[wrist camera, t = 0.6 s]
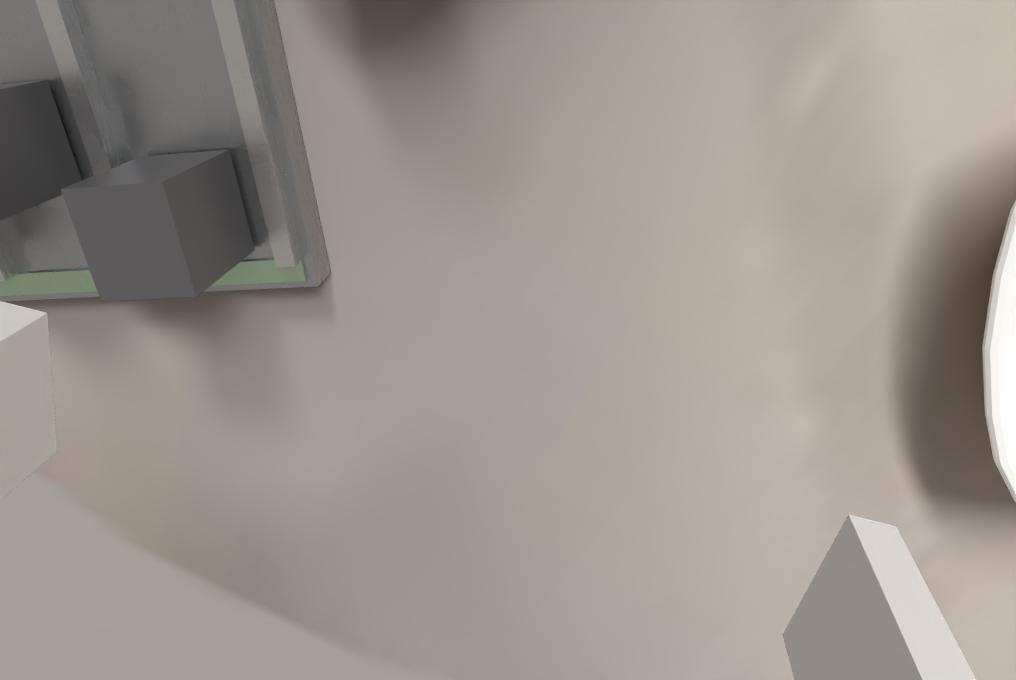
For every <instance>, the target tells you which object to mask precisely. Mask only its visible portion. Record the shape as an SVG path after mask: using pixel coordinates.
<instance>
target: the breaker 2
mask: <svg viewBox="0 0 1016 680" xmlns="http://www.w3.org/2000/svg"><path fill="white" fill-rule="evenodd" d="M61 192H62V194H63V197H64V200H65V203H66V206H67V208H68V211H69V214H70V217H71V219H72V222H73V225H74V228H75V231H76V233H77V236H78V239H79V242H80V245H81V247H82V250H83V253H84V256H85V259H86V261H87V264H88V267H89V270H90V272H91V275H92V278H93V281H94V284H95V286H96V289H97V292H98V295H99V298H100V300H101V302H105V301H127V300H148V299H169V298H191V297H197V296H199V295H200V294H201V293H202V292H204V291H205V290H206V289H207V288H209V287H210V286H211V285H212V284H214V283H215V282H216V281H217V280H219V279H220V278H221V277H222V276H223V275H225V274H226V273H227V272H228V271H230V270H231V269H232V268H233V267H235V266H236V265H237V264H238V263H240V262H241V261H242V260H243V259H245V258H246V257H247V256H248V255H250V254H251V253H252V252H253V251H255V249H254V245H253V241H252V237H251V234H250V230H249V226H248V222H247V218H246V214H245V210H244V206H243V202H242V198H241V194H240V190H239V186H238V182H237V179H236V175H235V171H234V167H233V163H232V159H231V155H230V151H229V150H218V151H205V152H192V153H179V154H166V155H153V156H141V157H139V158H136V159H134V160H131V161H129V162H126V163H124V164H122V165H119V166H117V167H114V168H112V169H109V170H107V171H104V172H102V173H99V174H97V175H94V176H92V177H90V178H87V179H85V180H82V181H80V182H77V183H75V184H72V185H70V186H67V187H65V188H62V189H61Z"/></svg>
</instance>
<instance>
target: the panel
mask: <svg viewBox="0 0 1016 680" xmlns="http://www.w3.org/2000/svg"><path fill="white" fill-rule="evenodd" d="M39 80H48V83H49V86H50V89H51V92H52V95H53V98H54V101H55V103H56V106H57V109H58V112H59V115H60V118H61V121H62V124H63V127H64V130H65V132H66V135H67V138H68V141H69V144H70V147H71V150H72V153H73V156H74V159H75V161H76V164H77V167H78V170H79V173H80V176H81V179H82V180H85V179H87V178H90V177H92V176H94V175H97V174H99V173H102V172H104V171H107V170H109V169H112V168H114V167H117V166H119V165H122V164H124V163H126V162H129V161H131V160H134V159H136V158H139V157H141V156H153V155H166V154H179V153H192V152H205V151H218V150H229V151H230V155H231V159H232V163H233V167H234V171H235V175H236V179H237V182H238V186H239V190H240V194H241V198H242V202H243V206H244V210H245V214H246V218H247V222H248V226H249V230H250V234H251V237H252V241H253V245H254V249H255V251H253V252H252V253H251V254H250V255H248V256H247V257H246V258H245V259H243V260H242V261H241V262H240V263H238V264H237V265H236V266H235V267H233V268H232V269H231V270H230V271H228V272H227V273H226V274H225V275H223V276H222V277H221V278H220V279H219V280H217V281H216V282H215V283H214V284H212V285H211V286H210V287H209V288H207V289H206V290H205V291H204V292H212V291H233V290H254V289H275V288H295V287H316V286H319V285H320V284H321V283H322V282H323V281H324V279H325V278H326V277H327V276H328V275H329V274H330V273H331V270H330V265H329V260H328V256H327V251H326V246H325V241H324V237H323V232H322V227H321V222H320V218H319V213H318V208H317V204H316V199H315V194H314V189H313V185H312V180H311V175H310V170H309V166H308V161H307V156H306V151H305V147H304V142H303V137H302V133H301V128H300V123H299V118H298V114H297V109H296V104H295V99H294V95H293V90H292V85H291V80H290V76H289V71H288V66H287V62H286V57H285V52H284V47H283V43H282V38H281V33H280V28H279V24H278V19H277V14H276V9H275V5H274V0H0V84H8V83H19V82H29V81H39ZM86 297H99V295H98V292H97V289H96V286H95V284H94V281H93V278H92V275H91V272H90V270H89V267H88V264H87V261H86V259H85V256H84V253H83V250H82V247H81V245H80V242H79V239H78V236H77V233H76V231H75V228H74V225H73V222H72V219H71V217H70V214H69V211H68V208H67V206H66V203H65V200H64V197H63V195H61V196H58V197H56V198H54V199H51V200H49V201H46V202H44V203H42V204H39V205H37V206H34V207H32V208H30V209H27V210H25V211H22V212H20V213H18V214H15V215H13V216H10V217H8V218H6V219H3V220H1V221H0V302H1V301H2V302H3V301H23V300H44V299H65V298H86Z"/></svg>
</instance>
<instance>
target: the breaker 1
mask: <svg viewBox="0 0 1016 680" xmlns="http://www.w3.org/2000/svg"><path fill="white" fill-rule="evenodd" d="M80 181H82V179H81V176H80V173H79V170H78V167H77V164H76V161H75V159H74V156H73V153H72V150H71V147H70V144H69V141H68V138H67V135H66V132H65V130H64V127H63V124H62V121H61V118H60V115H59V112H58V109H57V106H56V103H55V101H54V98H53V95H52V92H51V89H50V86H49V83H48V80H39V81H29V82H19V83H8V84H0V221H1V220H3V219H6V218H8V217H10V216H13V215H15V214H18V213H20V212H22V211H25V210H27V209H30V208H32V207H34V206H37V205H39V204H42V203H44V202H46V201H49V200H51V199H54V198H56V197H58V196H61V195H63V194H62V192H61V189H62V188H65V187H67V186H70V185H72V184H75V183H77V182H80Z"/></svg>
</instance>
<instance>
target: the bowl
mask: <svg viewBox="0 0 1016 680" xmlns="http://www.w3.org/2000/svg"><path fill="white" fill-rule="evenodd" d="M982 354H983V380H984V406H985V417H986V422H987V427H988V433H989V438H990V444H991V449H992V455H993V460H994V462H995V464H996V466H997V468H998V470H999V472H1000V474H1001V476H1002V477H1003V479H1004V481H1005V483H1006V485H1007V487H1008V489H1009V491H1010V493H1011V495H1012V497H1013V499H1014V501H1015V502H1016V200H1015V202H1014V204H1013V206H1012V208H1011V210H1010V213H1009V217H1008V221H1007V225H1006V228H1005V232H1004V236H1003V239H1002V243H1001V247H1000V250H999V254H998V258H997V261H996V265H995V269H994V272H993V278H992V285H991V291H990V298H989V305H988V312H987V318H986V325H985V332H984V339H983V345H982Z"/></svg>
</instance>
